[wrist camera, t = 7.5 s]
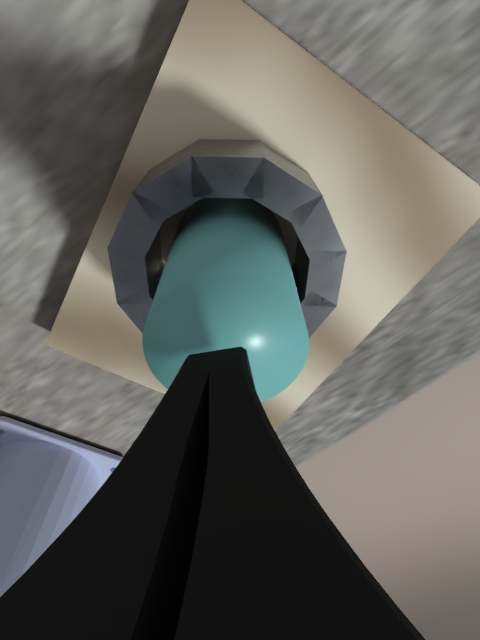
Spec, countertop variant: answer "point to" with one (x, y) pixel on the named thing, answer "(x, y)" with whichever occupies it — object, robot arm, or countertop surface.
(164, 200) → the grey faceted ring
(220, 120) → the pale board
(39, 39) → the countertop surface
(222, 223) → the teal plug
